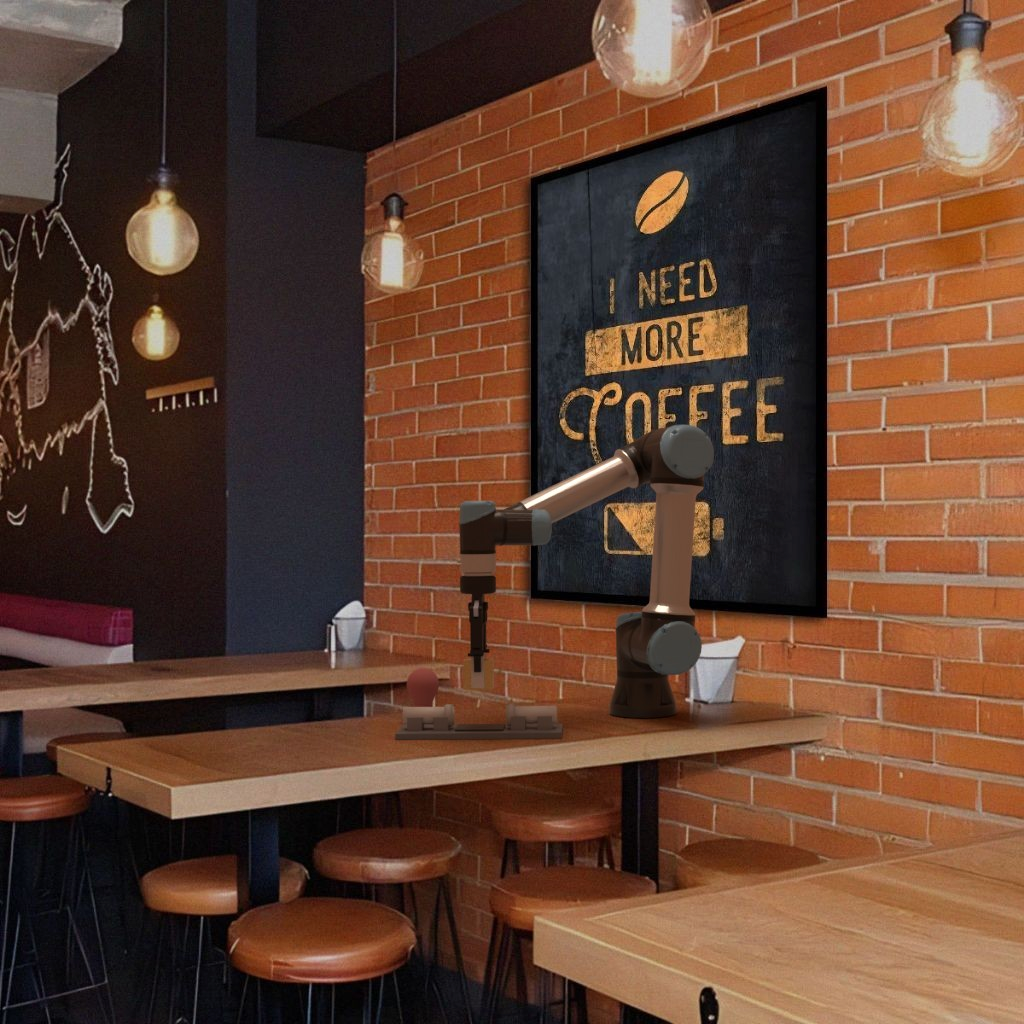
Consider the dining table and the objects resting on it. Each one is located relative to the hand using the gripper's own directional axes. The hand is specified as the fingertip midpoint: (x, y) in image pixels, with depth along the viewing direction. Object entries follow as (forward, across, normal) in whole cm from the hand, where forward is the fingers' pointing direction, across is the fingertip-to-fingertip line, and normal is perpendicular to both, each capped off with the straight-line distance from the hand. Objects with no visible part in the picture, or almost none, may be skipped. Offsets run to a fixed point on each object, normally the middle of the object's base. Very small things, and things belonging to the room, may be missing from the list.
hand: (479, 686), depth 278 cm
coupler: (0, 0, 0) cm, 0 cm away
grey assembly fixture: (+10, 0, 0) cm, 10 cm away
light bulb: (+10, -17, -14) cm, 24 cm away
